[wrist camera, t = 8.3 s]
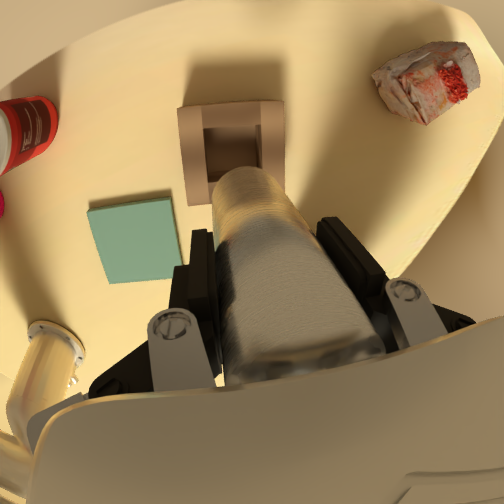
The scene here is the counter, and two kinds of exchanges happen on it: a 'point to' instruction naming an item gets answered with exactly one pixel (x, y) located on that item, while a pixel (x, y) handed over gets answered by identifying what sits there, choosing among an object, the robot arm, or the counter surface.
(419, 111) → the food item
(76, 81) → the counter surface
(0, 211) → the pepper mill
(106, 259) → the mat
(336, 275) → the steel pin
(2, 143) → the canned food
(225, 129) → the socket block
